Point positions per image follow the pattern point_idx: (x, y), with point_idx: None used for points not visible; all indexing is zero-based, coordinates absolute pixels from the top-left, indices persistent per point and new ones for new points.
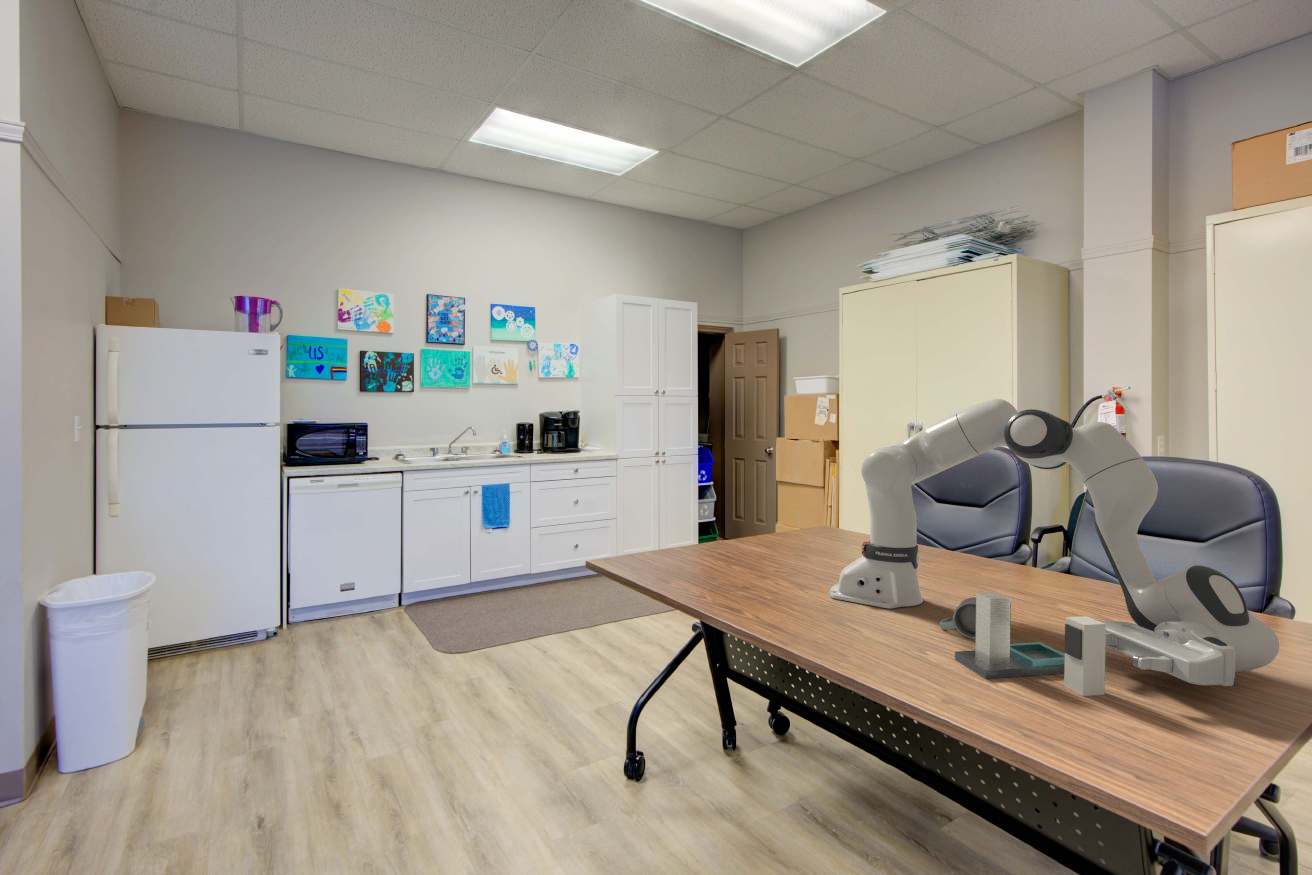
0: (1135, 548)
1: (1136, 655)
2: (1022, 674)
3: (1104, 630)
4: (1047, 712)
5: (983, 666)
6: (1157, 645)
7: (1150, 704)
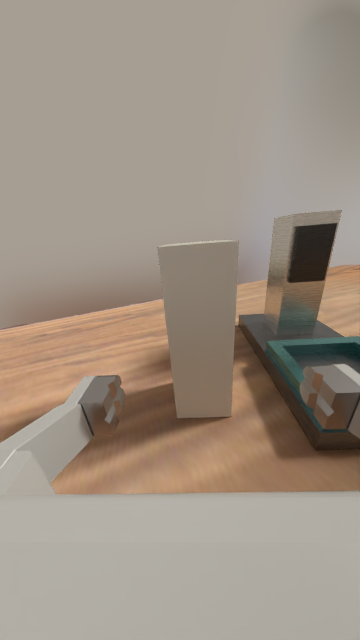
0: None
1: (113, 380)
2: (255, 348)
3: (160, 269)
4: (151, 334)
5: (252, 316)
6: (53, 584)
7: (97, 489)
